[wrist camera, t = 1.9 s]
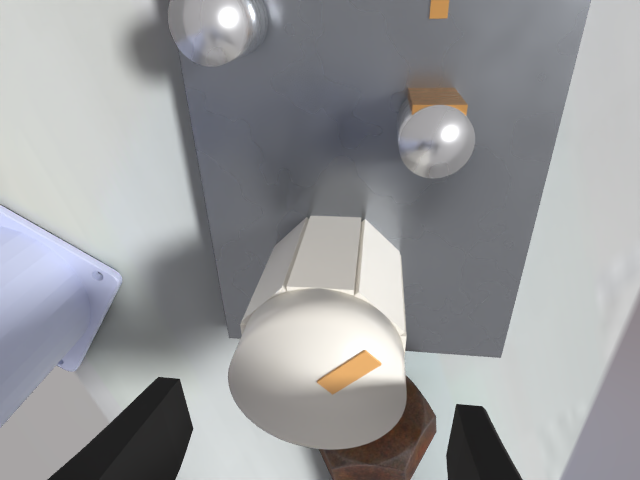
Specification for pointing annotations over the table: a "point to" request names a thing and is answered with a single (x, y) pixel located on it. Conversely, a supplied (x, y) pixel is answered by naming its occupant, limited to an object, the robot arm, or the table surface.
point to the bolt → (388, 446)
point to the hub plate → (382, 140)
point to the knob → (325, 337)
